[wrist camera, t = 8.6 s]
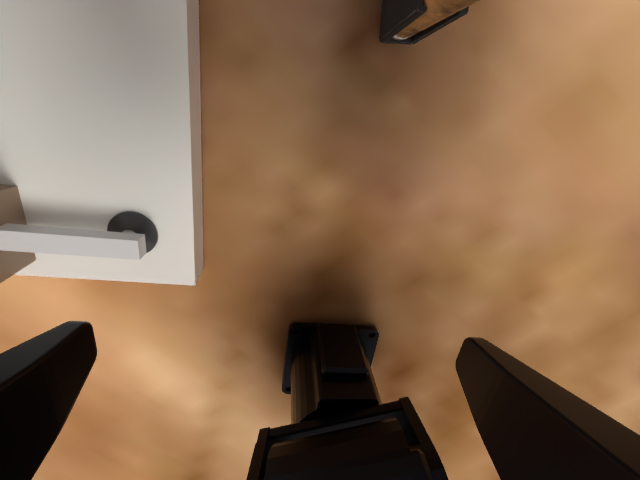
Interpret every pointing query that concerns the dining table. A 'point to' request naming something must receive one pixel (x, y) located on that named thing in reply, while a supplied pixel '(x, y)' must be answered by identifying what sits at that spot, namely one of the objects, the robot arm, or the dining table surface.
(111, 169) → the white base plate
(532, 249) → the dining table surface
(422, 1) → the ammunition clip
